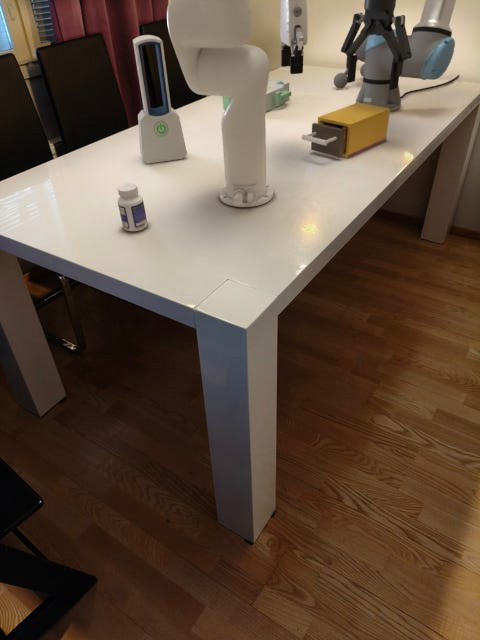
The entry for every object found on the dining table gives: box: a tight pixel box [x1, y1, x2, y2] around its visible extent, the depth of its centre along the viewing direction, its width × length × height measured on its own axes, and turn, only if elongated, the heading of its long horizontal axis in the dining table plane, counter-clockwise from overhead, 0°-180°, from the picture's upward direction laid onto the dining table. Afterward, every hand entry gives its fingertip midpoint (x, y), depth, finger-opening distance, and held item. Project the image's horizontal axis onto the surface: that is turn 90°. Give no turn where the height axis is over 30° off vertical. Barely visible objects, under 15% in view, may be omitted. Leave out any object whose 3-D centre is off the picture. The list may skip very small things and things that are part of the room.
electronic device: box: [132, 34, 188, 165], centre depth 130 cm, size 12×8×30 cm, turn 105°
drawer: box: [301, 122, 348, 158], centre depth 134 cm, size 22×10×7 cm, turn 134°
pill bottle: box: [117, 182, 148, 232], centre depth 102 cm, size 5×5×9 cm
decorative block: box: [221, 79, 292, 113], centre depth 175 cm, size 26×6×20 cm
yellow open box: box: [317, 102, 390, 159], centre depth 137 cm, size 18×11×9 cm, turn 134°
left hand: (291, 69), depth 127 cm, fingers open, 9 cm apart
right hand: (371, 85), depth 132 cm, fingers open, 13 cm apart
